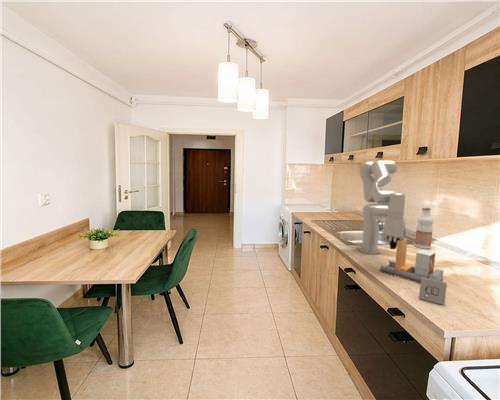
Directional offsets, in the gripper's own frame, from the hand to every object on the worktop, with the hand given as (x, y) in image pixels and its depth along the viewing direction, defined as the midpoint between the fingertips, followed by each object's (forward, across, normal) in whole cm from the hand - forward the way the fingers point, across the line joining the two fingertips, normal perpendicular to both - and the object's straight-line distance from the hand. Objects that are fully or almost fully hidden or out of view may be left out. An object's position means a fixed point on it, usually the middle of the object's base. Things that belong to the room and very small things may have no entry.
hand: (392, 248), depth 154 cm
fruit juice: (+12, -4, +61) cm, 62 cm away
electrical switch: (+13, +26, -22) cm, 36 cm away
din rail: (+12, +10, 0) cm, 16 cm away
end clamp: (+11, +6, 0) cm, 13 cm away
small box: (+11, +16, 0) cm, 19 cm away
